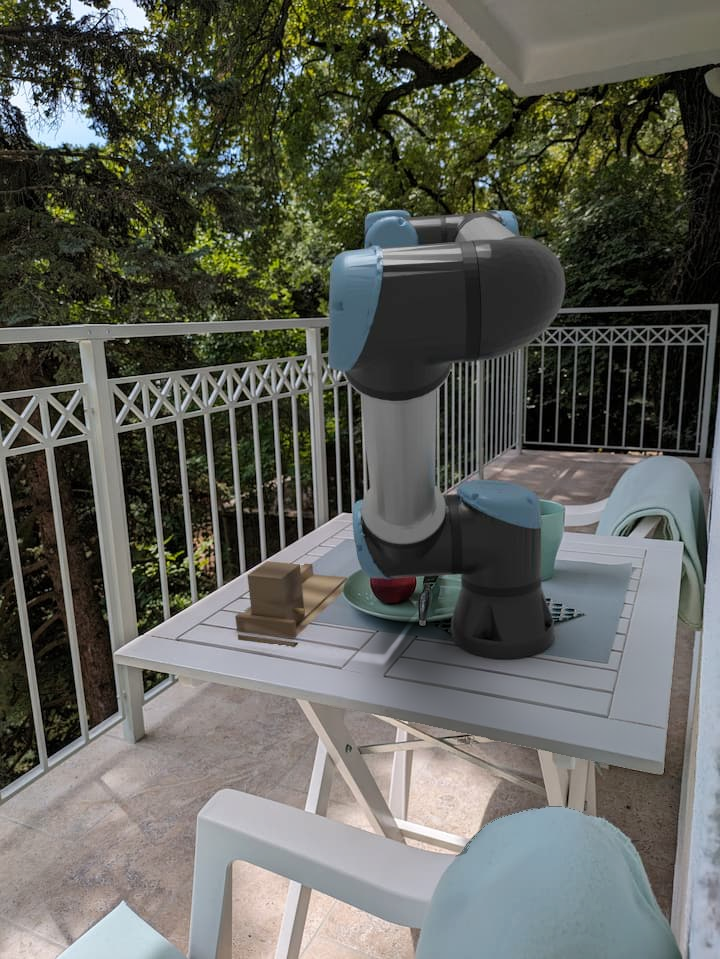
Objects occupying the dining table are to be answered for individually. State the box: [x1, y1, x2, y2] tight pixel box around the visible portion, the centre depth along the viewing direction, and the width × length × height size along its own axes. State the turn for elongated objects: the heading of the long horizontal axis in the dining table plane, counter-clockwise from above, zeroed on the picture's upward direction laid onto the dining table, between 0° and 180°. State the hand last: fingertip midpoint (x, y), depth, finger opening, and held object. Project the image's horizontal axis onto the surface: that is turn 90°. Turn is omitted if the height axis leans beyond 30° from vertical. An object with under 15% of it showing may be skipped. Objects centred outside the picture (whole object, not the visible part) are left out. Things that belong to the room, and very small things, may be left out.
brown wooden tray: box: [234, 563, 349, 648], centre depth 123 cm, size 24×10×4 cm, turn 157°
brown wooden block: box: [247, 560, 305, 625], centre depth 115 cm, size 6×8×9 cm
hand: (401, 451), depth 126 cm, fingers closed
